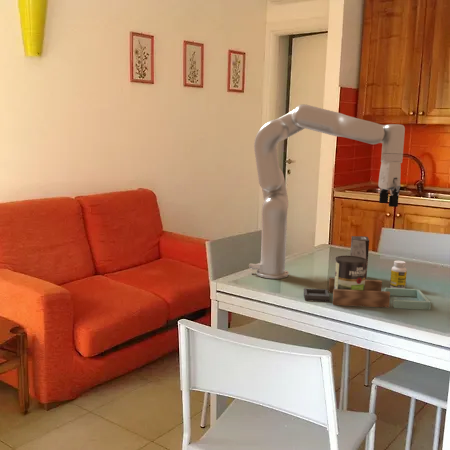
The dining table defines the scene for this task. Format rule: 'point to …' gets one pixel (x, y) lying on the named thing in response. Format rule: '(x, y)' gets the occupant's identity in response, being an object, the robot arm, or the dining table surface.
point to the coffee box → (360, 248)
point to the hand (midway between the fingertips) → (388, 204)
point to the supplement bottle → (398, 275)
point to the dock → (420, 304)
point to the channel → (361, 295)
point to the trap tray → (316, 294)
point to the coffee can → (350, 273)
